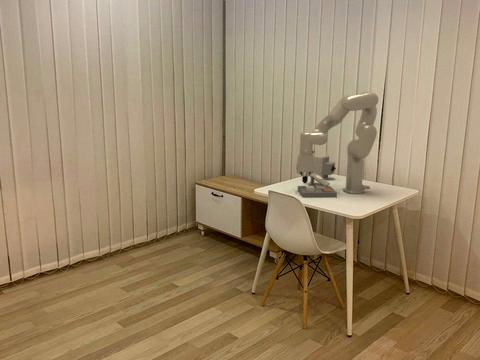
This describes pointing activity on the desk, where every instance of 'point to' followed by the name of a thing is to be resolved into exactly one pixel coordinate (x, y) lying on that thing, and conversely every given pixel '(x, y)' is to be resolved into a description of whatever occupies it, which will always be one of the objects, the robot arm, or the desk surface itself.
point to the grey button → (309, 189)
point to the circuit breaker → (323, 166)
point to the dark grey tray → (317, 192)
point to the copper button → (326, 189)
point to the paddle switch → (312, 182)
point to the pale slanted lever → (319, 179)
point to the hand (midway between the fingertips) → (304, 182)
